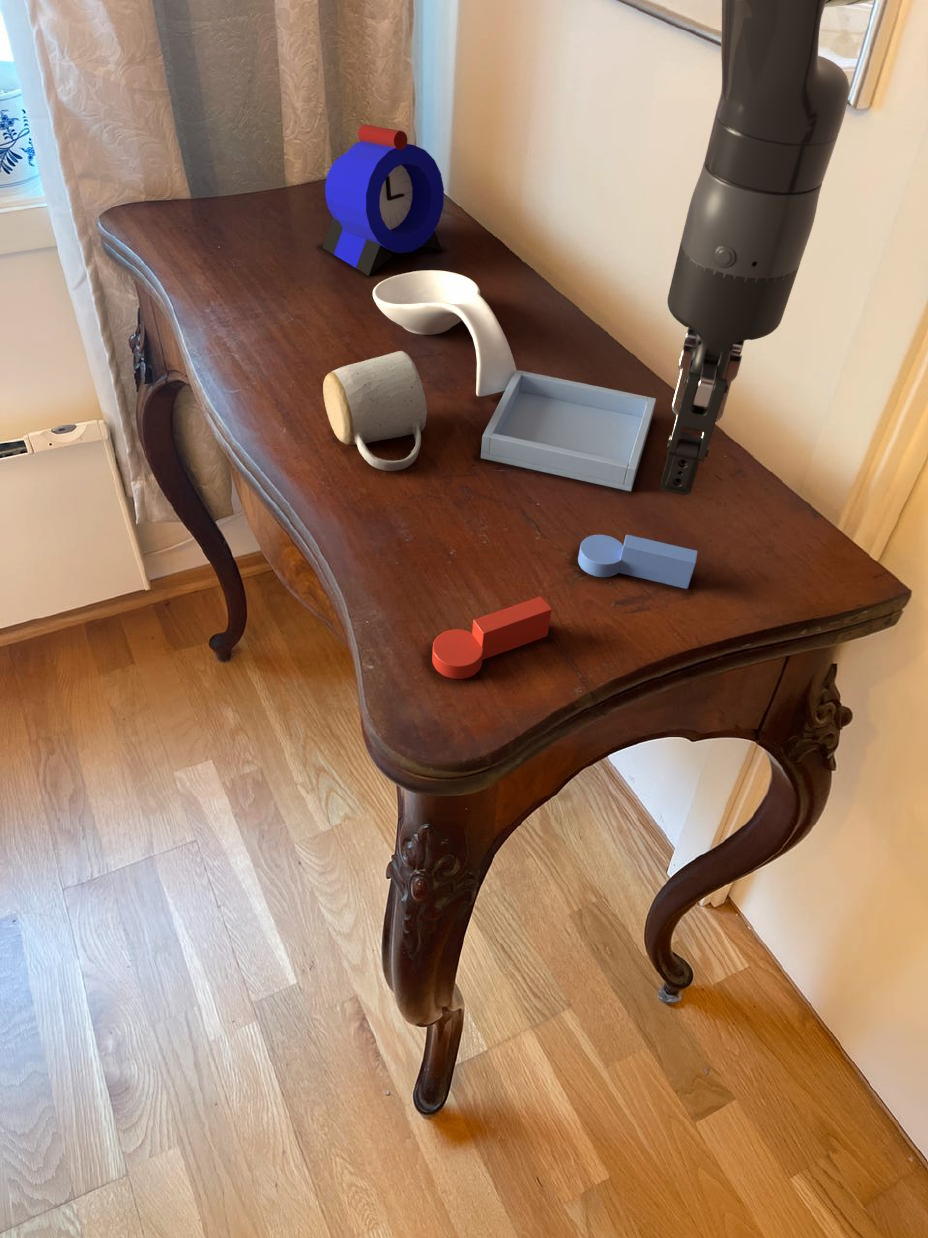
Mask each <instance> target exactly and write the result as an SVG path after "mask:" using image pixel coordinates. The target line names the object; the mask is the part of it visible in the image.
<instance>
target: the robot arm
mask: <svg viewBox="0 0 928 1238" xmlns="http://www.w3.org/2000/svg"><path fill="white" fill-rule="evenodd" d="M871 1H873V0H721V31H720V32H721V33H720V35H721V37H720V38H721V39H720V58H721V59H720V60H721V90H720V95H719V99H718V103H717V107H716V110H715V115H714V119H713V123H712V127H711V131H710V135H709V140H708V143H707V148H706V152H705V157H704V161H703V164H702V167H701V171H700V173H699V177H698V179H697V182H696V185H695V187H694V189H693V192H692V195H691V199H690V202H689V206H688V210H687V214H686V219H685V222H684V225H683V231H682V235H681V239H680V244H679V248H678V252H677V257H676V260H675V265H674V269H673V273H672V278H671V281H670V282H671V283H670V287H669V291H668V295H667V307H668V310H669V312H670V314H671V316H672V317H673V318H674V319H675V320H676V321H678V323H680V324H681V325H682V326H683V327H685V328H687V330H686V331H687V332H686V335H685V338H684V343H683V346H682V350H681V354H680V358H679V362H678V365H677V366H678V370H679V377H678V379H677V380H678V381H677V385H676V388H675V393H674V397H673V401H672V404H671V410H672V412H673V414H674V415H675V416H676V417H675V422H674V426H673V429H672V433H671V434H669V437H668V440H667V446H666V450H668V451H667V457H666V461H665V465H664V469H663V473H662V476H661V479H660V484H659V486H660V488H661V490H663V491H665V492H668V493H673V494H676V495H677V494H678V495H681V496H686V495H689V494H690V493H691V492H692V489H693V486H694V482H695V479H696V475H697V473H698V469H699V465H700V463H704V461H705V459H706V458H708V455H709V453H710V452H709V446H710V442H711V438H712V435H713V432H714V429H715V425H716V423H717V422H718V421H720V419H721V418H722V417H723V415H724V412H725V408H726V403H727V400H728V397H729V392H730V389H731V385H732V382H733V381H734V380H735V379H736V378H737V376H738V373H739V371H740V366H741V362H742V360H743V359H742V358H743V355H742V352H743V348H744V344H745V341H753V340H758V339H761V338H764V337H767V336H768V335H770V334H772V333H774V331H776V330H777V329H778V327H779V326H780V324H781V322H782V320H783V317H784V314H785V311H786V308H787V305H788V302H789V298H790V296H791V292H792V290H793V288H794V287H793V286H794V284H795V281H796V278H797V274H798V271H799V269H800V267H801V262H802V259H803V256H804V253H805V250H806V247H807V244H808V242H809V238H810V235H811V233H812V229H813V226H814V223H815V220H816V219H815V218H816V214H817V209H818V203H819V198H820V193H821V189H822V185H823V182H824V180H825V177H826V174H827V170H828V167H829V165H830V161H831V159H832V155H833V153H834V150H835V146H836V143H837V140H838V137H839V134H840V131H841V128H842V125H843V121H844V117H845V116H846V115H845V114H846V111H847V106H848V102H849V97H850V81H849V79H848V78H849V77H848V76H847V74H846V72H845V71H844V69H842V67H841V66H839V65H838V64H837V63H835V61H832V60H830V59H828V58H826V57H824V56H821V55H819V42H820V41H819V40H820V30H821V29H820V28H821V22H822V17H823V13H824V10H825V9H826V8H833V7H844V6H853V5H854V6H855V5H862V4H865V3H869V2H871ZM683 429H684V430H688V431H689V430H690V431H693V432H700V431H701V435H697V434H694V433H689V432H684V431H683V432H682V430H683Z"/></svg>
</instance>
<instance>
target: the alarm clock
mask: <svg viewBox="0 0 928 1238" xmlns="http://www.w3.org/2000/svg"><path fill="white" fill-rule="evenodd" d="M357 137H358V140H359V142H357V143H355V144H353V145H352V146H351V147H350V148H349V149H348V150H347V151H346V152H345V153H343V154H341V155H340V156H339V157H337V159H336V160H335V161H334V162H333V163H332V165H331V167H330V169H329V171H328V172H327V175H326V181H325V186H324V189H325V191H324V192H325V194H324V196H325V201H326V205H327V208H328V210H329V213H330V214H331V216H332V219H331V222H330V225H329V228H328V231H327V233H326V236H325V240H324V242H323V245H322V249H323V250H326V251H327V252H329V253H330V254H332V255H334V256H335V257H337V258H339V259H340V260H342V261H344V262H345V263H347V264H349V265H350V266H351V267H353V268H355V269H356V270H358V271H360V272H362V273H363V274H364V275H366V276H368V277H369V276H370V275H371V274H373V273H374V272H375V271H376V270H377V269H378V268H379V267H380V266H382V265H383V264H384V263H386V262H387V261H388V260H389V259H390V258H391V257H392V256H393V255H392V254H391V253H390V252H394V253H397V254H404V253H412V252H414V251H415V250H417V249H419V248H420V247H422V246H423V247H427V248H432V249H436V250H441V251H444V249H443V246H442V244H441V242H440V240H439V237H438V235H437V232H436V229H437V228H438V227H437V226H438V225H439V223H440V220H441V217H442V212H443V208H444V201H445V199H444V198H445V197H444V196H445V187H444V183H443V181H444V180H443V176H442V173H441V170H440V168H439V166H438V164H437V162H436V160H435V159H434V157H432V155H430V153H429V152H428V151H427V150H426V149H424V148H422V147H420V146H417V145H415V144H411V143H408V135H407V133H406V132H405V131H403V130H399V129H392V128H387V127H381V126H378V125H377V126H375V125H369V124H362V125H361V126H360V127H359V129H358V131H357ZM389 251H390V252H389Z"/></svg>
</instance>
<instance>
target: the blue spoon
mask: <svg viewBox="0 0 928 1238" xmlns="http://www.w3.org/2000/svg"><path fill="white" fill-rule="evenodd" d="M698 553H699V550H696V549H691V548H687V547H683V546H678V545H674V544H670V543H665V542H662V541H656V540H652V539H649V538H644V537H639V536H635V535H631V534H626V535H625V538H624V542H623V543H622V542H621V541H620V540H619V539H617V538H615V537H612V536H610V535H607V534H606V535H605V534H593V535H589V536H587V537H585V538H584V539H583V540H582V541H581V542H580V547H579V551H578V556H577V563H578V565H579V567H580V568H581V570H582V571H584V572H585V573H587V574H588V575H590V576H593V577H597V578H610V577H613V576H615V575H617V574H622V575H626V576H631V577H635V578H639V579H644V580H646V581H647V580H648V581H650V582H651V581H652V582H656V583H660V584H663V585H669V586H673V587H676V588H681V589H685V590H688V589H689V586H690V584H691V581H692V580H691V579H692V576H693V573H694V571H695V567H696V565H697V559H698V555H699V554H698Z"/></svg>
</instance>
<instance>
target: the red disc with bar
mask: <svg viewBox="0 0 928 1238" xmlns="http://www.w3.org/2000/svg"><path fill="white" fill-rule="evenodd" d="M552 610H553V609H552V608H551V606H550V605H549V604H548V603H547V602H546V600H545V599H544V598H543V597H542V596H537V597H535V598H532V599H529V600H526V601H524V602H520V603H518V604H515V605H512V606H509V607H506V608H504V609H500V610H498V611H495V612H492V613H489V614H486V615H483V616H480V617H478V618H475V619H473V621H472V629H471V631H469V630H467V629H461V628H454V629H448V630H445V631H443V632H441V633H439V635H438V636H436V638H434V641H433V644H432V652H431V653H432V656H431V657H432V658H431V661H432V662H431V663H432V665H433V667H434V669H435V670H436V671H437V672H438V673H439V674H440V675H441V676H443V677H446V678H449V679H453V680H464V679H469V678H471V677H473V676H474V675H476V674H477V673H478V672H479V671H480V669H481V667H482V665H483V660H487V659H488V658H491V657H494V656H497V655H499V654H502V653H506V652H508V651H510V650H513V649H515V648H519V647H521V646H524V645H527V644H530V643H532V642H535V641H538V640H540V639H543V638H546V637H548V634H549V628H550V622H551V617H552V616H551V615H552Z"/></svg>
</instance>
